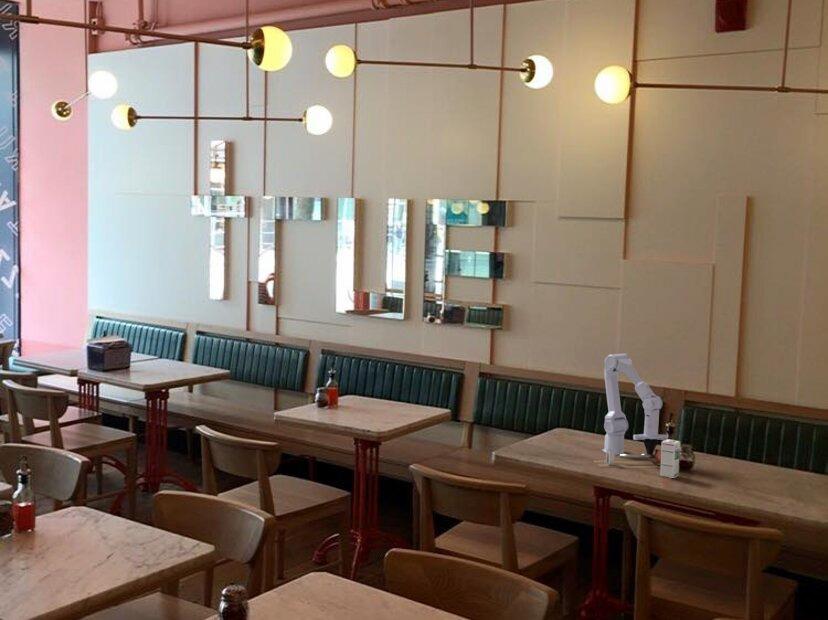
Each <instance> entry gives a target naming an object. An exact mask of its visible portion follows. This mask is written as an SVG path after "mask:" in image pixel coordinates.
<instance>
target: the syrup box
mask: <svg viewBox="0 0 828 620" xmlns="http://www.w3.org/2000/svg"><path fill="white" fill-rule="evenodd" d="M660 448H661V449H660V450H661V463H660V467H659V470H660V473H659V475H660V476H661V477H665V478H666V477H668V478H667V479H671V478H674V479H675V478H677V477H679V476H680V460H681V459H680V457H681V455H680V454H681V441H680V440H675V439H669V438H668V439H667V440H663V441H661V447H660Z"/></svg>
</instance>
